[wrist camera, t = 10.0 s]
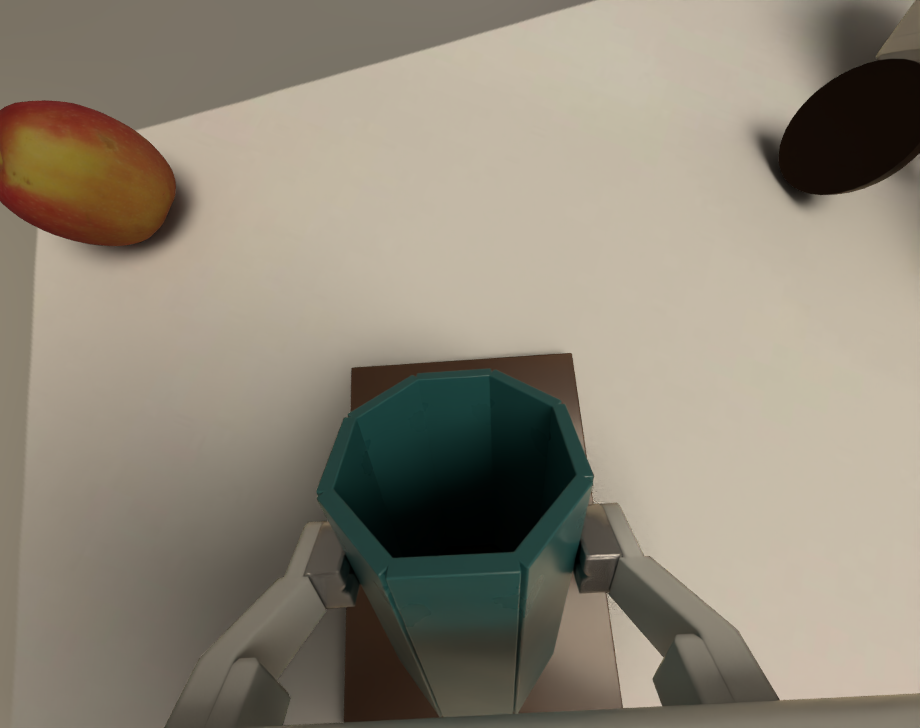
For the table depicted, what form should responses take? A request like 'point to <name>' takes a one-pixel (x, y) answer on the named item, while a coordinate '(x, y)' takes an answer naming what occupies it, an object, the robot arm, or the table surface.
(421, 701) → the brown rectangular board
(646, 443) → the table surface
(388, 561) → the teal hollow octagonal tube
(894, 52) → the light fixture
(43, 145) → the apple
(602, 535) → the robot arm
